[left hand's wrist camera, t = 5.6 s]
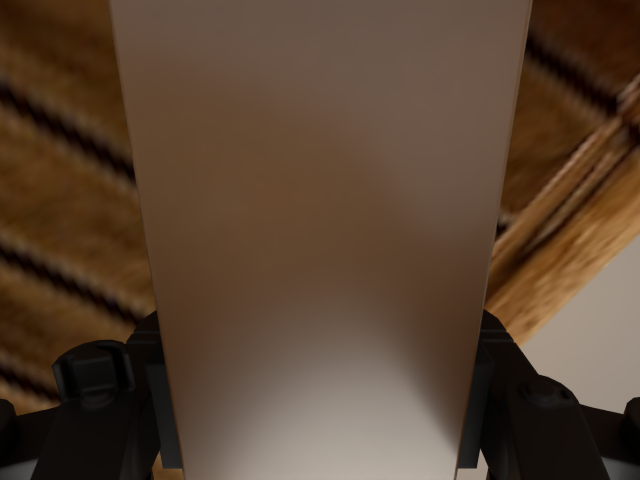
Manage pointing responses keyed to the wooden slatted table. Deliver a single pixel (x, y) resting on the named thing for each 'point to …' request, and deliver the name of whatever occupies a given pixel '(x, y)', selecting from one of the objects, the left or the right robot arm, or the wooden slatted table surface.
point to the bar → (319, 222)
